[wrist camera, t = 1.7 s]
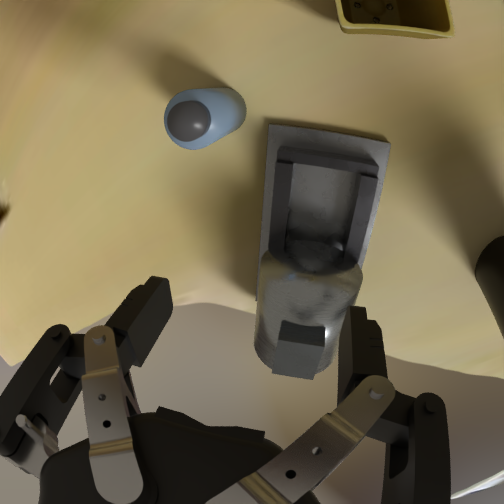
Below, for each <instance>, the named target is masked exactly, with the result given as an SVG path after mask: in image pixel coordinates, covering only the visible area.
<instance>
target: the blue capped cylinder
mask: <svg viewBox="0 0 504 504" xmlns="http://www.w3.org/2000/svg"><path fill="white" fill-rule="evenodd" d="M245 117H246V104H245V101H244V99H243V98H242V96H241V95H240V94H239V93H238V92H236V91H235V90H233V89H230V88H224V87H223V88H204V89H190V90H185V91H182V92H180V93H178V94H177V95H175V96H174V97H173V98H172V99H171V100H170V102H169V103H168V105H167V107H166V110H165V114H164V124H165V129H166V131H167V133H168V135H169V137H170V138H171V139H172V141H174V142H175V143H176V144H177V145H179V146H180V147H183V148H186V149H191V150H196V149H201V148H204V147H206V146H208V145H210V144H212V143H213V142H215V141H217V140H219V139H220V138H222V137H224V136H226V135H228V134H229V133H231V132H233V131H235V130H237V129H238V128H239V127H240V126H241V125H242V124H243V122H244V120H245Z"/></svg>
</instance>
